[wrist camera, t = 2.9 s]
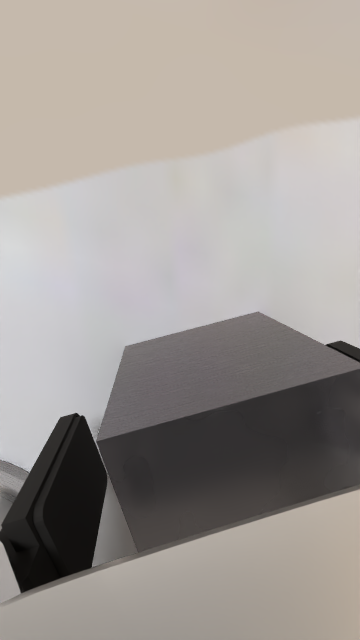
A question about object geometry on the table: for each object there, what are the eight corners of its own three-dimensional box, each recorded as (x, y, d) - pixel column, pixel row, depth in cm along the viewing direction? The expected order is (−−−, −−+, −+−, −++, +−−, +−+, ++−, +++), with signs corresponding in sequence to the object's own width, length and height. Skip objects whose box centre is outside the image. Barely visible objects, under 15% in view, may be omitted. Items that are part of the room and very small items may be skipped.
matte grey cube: (258, 311, 11) (367, 366, 6) (277, 426, 13) (379, 562, 7) (125, 346, 11) (96, 441, 5) (160, 459, 13) (167, 629, 7)
